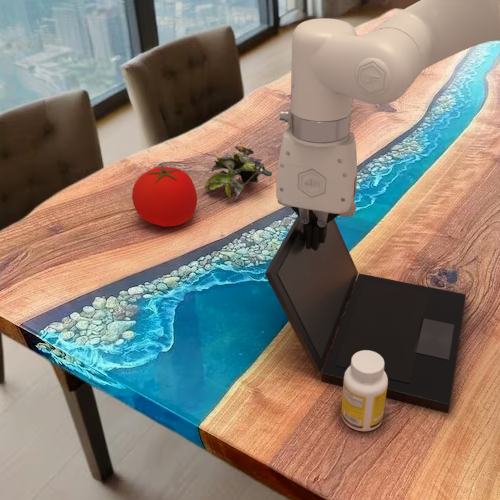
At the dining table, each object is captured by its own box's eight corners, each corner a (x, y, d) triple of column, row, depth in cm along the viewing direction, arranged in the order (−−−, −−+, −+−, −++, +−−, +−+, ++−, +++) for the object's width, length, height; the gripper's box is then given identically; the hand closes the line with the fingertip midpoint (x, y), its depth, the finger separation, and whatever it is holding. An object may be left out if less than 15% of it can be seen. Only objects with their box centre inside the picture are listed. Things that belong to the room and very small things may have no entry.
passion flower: (245, 206, 138) (279, 163, 133) (238, 225, 128) (274, 179, 123) (202, 175, 136) (234, 130, 131) (191, 191, 126) (226, 144, 121)
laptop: (464, 302, 102) (466, 293, 101) (448, 413, 84) (450, 404, 83) (358, 280, 107) (359, 272, 106) (320, 381, 89) (321, 372, 88)
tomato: (209, 210, 126) (206, 162, 120) (181, 241, 117) (177, 191, 111) (155, 199, 130) (150, 152, 124) (125, 229, 121) (117, 179, 115)
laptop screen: (319, 184, 100) (314, 185, 100) (270, 272, 81) (264, 273, 82) (359, 273, 106) (354, 273, 107) (321, 372, 88) (315, 373, 88)
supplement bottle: (378, 400, 86) (386, 345, 80) (386, 432, 81) (394, 377, 76) (338, 400, 86) (343, 346, 80) (343, 433, 81) (348, 378, 76)
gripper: (254, 127, 80) (255, 249, 91) (373, 144, 76) (360, 269, 86) (273, 105, 86) (272, 222, 96) (385, 119, 82) (371, 240, 92)
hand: (314, 244), depth 91 cm, fingers closed
